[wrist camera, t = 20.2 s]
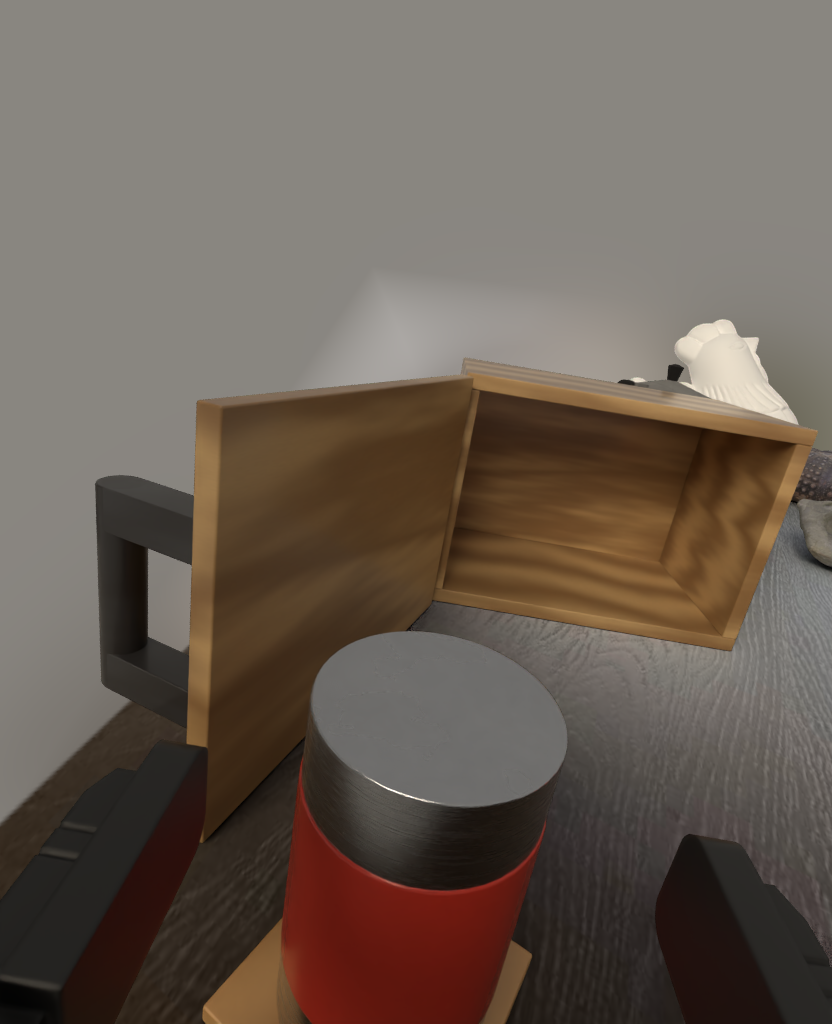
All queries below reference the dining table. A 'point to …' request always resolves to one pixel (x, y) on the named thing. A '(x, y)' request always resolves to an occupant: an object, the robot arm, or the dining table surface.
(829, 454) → the sea urchin shell
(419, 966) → the can
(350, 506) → the cupboard door
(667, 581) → the cupboard
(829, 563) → the fossil
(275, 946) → the coaster
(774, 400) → the decorative rooster
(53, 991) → the robot arm
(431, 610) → the dining table surface
